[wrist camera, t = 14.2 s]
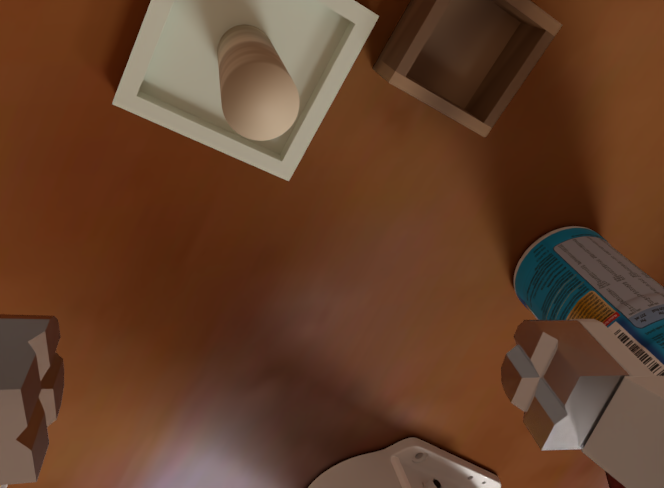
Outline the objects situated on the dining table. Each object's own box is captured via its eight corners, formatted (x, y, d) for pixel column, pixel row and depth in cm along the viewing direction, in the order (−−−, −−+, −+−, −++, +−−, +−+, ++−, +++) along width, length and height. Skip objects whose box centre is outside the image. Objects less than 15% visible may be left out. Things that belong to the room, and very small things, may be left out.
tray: (371, 11, 31) (379, 16, 29) (285, 170, 35) (288, 181, 33) (191, -102, 26) (189, -104, 25) (116, 95, 30) (111, 103, 29)
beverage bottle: (594, 203, 41) (857, 392, 25) (609, 277, 46) (840, 480, 29) (497, 252, 42) (689, 470, 25) (521, 321, 47) (698, 544, 30)
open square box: (530, 16, 33) (562, 25, 30) (462, 120, 36) (485, 138, 33) (439, -51, 30) (465, -49, 27) (372, 68, 33) (388, 82, 30)
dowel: (283, 42, 30) (313, 86, 22) (259, 92, 31) (278, 152, 23) (231, 13, 29) (241, 48, 20) (208, 67, 30) (208, 120, 22)
